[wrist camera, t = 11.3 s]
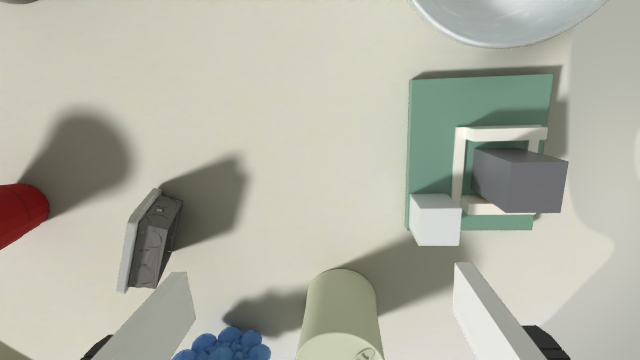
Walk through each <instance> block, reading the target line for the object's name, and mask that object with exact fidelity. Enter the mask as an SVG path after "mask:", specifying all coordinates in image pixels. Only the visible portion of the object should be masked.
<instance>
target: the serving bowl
mask: <svg viewBox="0 0 640 360" xmlns="http://www.w3.org/2000/svg"><path fill="white" fill-rule="evenodd" d="M407 1H408V3H409V4H410V6H411V7H412V9H413V10H414V11H415V12H416V14H417V15H418V16H419V17H420V18H421V19H422V20H423V21H424V22H425V23H426V24H428V25H429V26H430V27H431V28H432V29H434V30H435V31H437V32H438V33H440V34H441V35H443V36H445V37H447V38H449V39H451V40H454V41H456V42H459V43H462V44H465V45H469V46H474V47H480V48H492V49H506V48H516V47H523V46H527V45H532V44H535V43H539V42H542V41H545V40H547V39H550V38H552V37H555V36H557V35H559V34H561V33H563V32H565V31H567V30H569V29H570V28H572V27H574V26H576V25H577V24H579V23H580V22H582V21H583V20H585V19H586V18H588V17H589V16H590V15H592V14H593V13H594V12H595V11H596V10H598V9H599V8H600V7H601V6H602V5H603V4H605V3H606V2H607V1H608V0H407Z"/></svg>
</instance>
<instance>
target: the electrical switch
mask: <svg viewBox="0 0 640 360" xmlns="http://www.w3.org/2000/svg"><path fill="white" fill-rule="evenodd" d="M161 192H162V190H161V189H156V188H153V189H152V191H151V192H150V193H149V194H148V195H147V197H146V198H145V199H144V200H143V201H142V203H141V204H140V205H139V206H138V207H137V209H136V210H135V211H134V212H133V213H132V215H131V216H130V218H129V221H128V224H127V230H126V235H125V241H124V247H123V253H122V259H121V265H120V271H119V277H118V283H117V289H116V291H117V292H118V293H124V294H125V293H126V291H127V290H128V288H129V287H137V288H141V287H146V288H153V289H156V287H157V285H158V283H159V280H160V278H161V276H162V274H163V271H164V269H165V267H166V265H167V262H168V260H169V258H170V256H171V253H172V248H173V243H174V239H175V234H176V230H177V225H178V220H179V216H180V211H181V206H182V202H183V201H181V200H176V199H172V198H170V197H165V196H162V195H161ZM174 217H175V218H174ZM171 237H172V238H171ZM168 251H171V252H168Z"/></svg>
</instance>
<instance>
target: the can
mask: <svg viewBox="0 0 640 360" xmlns="http://www.w3.org/2000/svg"><path fill="white" fill-rule="evenodd" d="M306 300H307V303H306V309H305V314H304V320H303V325H302V330H301V335H300V340H299V345H298V350H297V354H296V357H295V360H385V359H384V354H383V348H382V343H381V336H380V330H379V324H378V317H377V310H376V294H375V291H374V289H373V287H372V285H371V284H370V282H369V281H368V280H367V279H366V278H365V277H363V276H362V275H361V274H359V273H357V272H354V271H352V270H348V269H333V270H329V271H326V272H324V273H322V274H320V275H319V276H317V277H316V278H315V279H314V280H313V281H312V283H311V284H310V286H309V288H308V291H307V297H306Z"/></svg>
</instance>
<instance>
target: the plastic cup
mask: <svg viewBox="0 0 640 360" xmlns="http://www.w3.org/2000/svg"><path fill="white" fill-rule="evenodd" d="M48 214H49V204H48V201H47V199H46V197H45V195H44V194H43V193H42V192H41V191H40V190H39V189H37V188H35V187H33V186H31V185H27V184H9V185H0V250H1V249H3V248H5V247H6V246H8V245H9V244H11V243H13V242H14V241H16V240H18V239H19V238H21V237H22V236H23V235H24V234H26V233H27V232H29V231H31V230H32V229H34V228H36V227H37V226H39V225H40V224H41V223H42V222H43V221H44V220H45V219H46V218H47V217H48Z"/></svg>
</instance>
